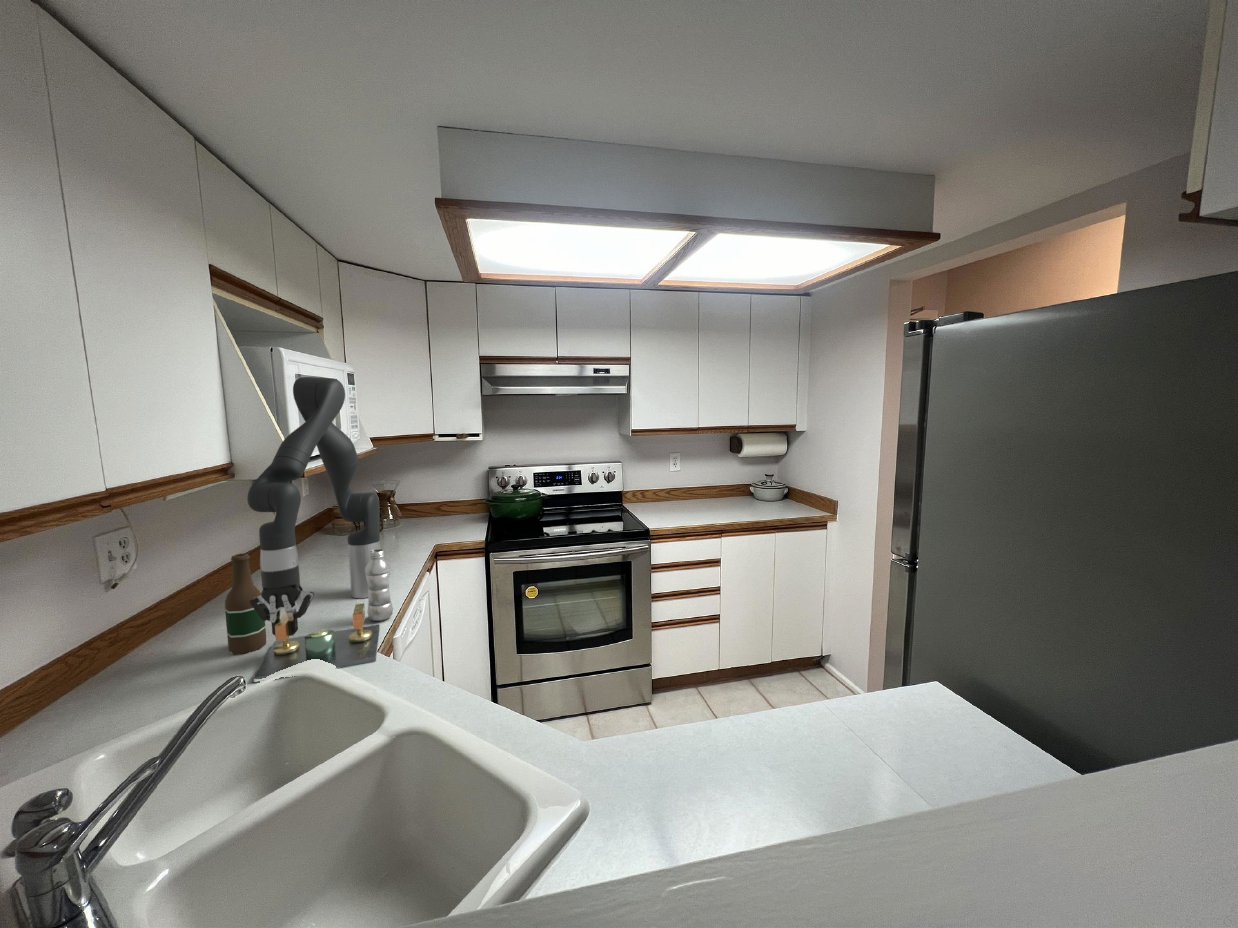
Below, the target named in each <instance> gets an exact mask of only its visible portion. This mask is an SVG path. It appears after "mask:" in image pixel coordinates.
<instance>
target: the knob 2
mask: <svg viewBox="0 0 1238 928" xmlns="http://www.w3.org/2000/svg"><path fill="white" fill-rule="evenodd" d="M365 618H366V609H365V603H364V602H363V603H357V604H355V605H354V610H353V613H352V626H353V628H354V629H357V631H355V632H353V633H351V634H350V635H349V641H350V642H362V641H365V640H368V639H370V638H371V637H372V631H371V630H363V627H364V623H365ZM353 628H352V629H353Z"/></svg>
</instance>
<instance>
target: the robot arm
mask: <svg viewBox="0 0 1238 928" xmlns="http://www.w3.org/2000/svg"><path fill="white" fill-rule="evenodd" d="M292 395H293V399H294V402H295V405H296V407H297V409H298V411H299V413H300V414H301V417H302V419H303V420H304V422H303V423H302V424H301V425H299V426H298V427H297V428H296V429H294V430H293V431H292V432H291V433H289V434H288V435H287V436H286V437H285V438H284V439H283V441H282V442H281V444H280V445H279V446H278V449H277V451H276V453H275V455H274V458H273V459H272V462H271V463H270V465H268V466H267V468H265V469H264V470H263V472H262V473H261V474H260V475H259V476H258V477H257V478H256V480H255V481H253V483H252V484H251V486H250V488H249V490H248V493H247V499H246V500H247V505H248V507H249V508H250V509H252V511H254V512H258V513H275V517H274V519H273V521H268V522H266V523H263V524H262V525H260V527H259V530H258V533H259V534H258V536H259V537H258V538H259V547H260V555H259V568H260V576H261V586H262V591H261V592H260V593H261V595H259V596H256V597H254V598H253V599H252V600H250V604H251V605H252V607H253V608H254V609H255V611H256V612H257V614H258V615H259V616H260V618H261V619H262V620H263V621H265V622H266V621H268V622H270V623H271V631H272V635H273V636H274V637H275V638H276V635H275V625H276V624H277V623H278V622H279V620H280V619H281V612H282V611H281V610H282V608H283V609H284V612H285V614H287V616H288V620H289V621H288V628H289V637H291V636H292V637H293V636H294V635H295V634H296V633H297V632H298V630H299V624H298V623H299V621H298V619H301V618H302V617H303V616H304V615H305V614H306V612H307V610H308V608H310V607H309V606H310V605H311V602H312V601H313V598H314V596H315V592H314V591H310V592H307V591H305V590H303V587H302V586H301V584H300V583H301V577H300V565H299V551H298V550H297V549H298V548H297V544H296V543H297V540H296V531H295V529H296V525H297V519H298V515H299V509H300V506H301V501H302V495H301V493H300V489H299V488H298V487H297V486H296V485H295V484H294V483H292V482H293V481H296V480H298V479H300V478H302V476H303V475H304V473H305V472H306V471H305V470H306V469H307V467H308V464H309V461H310V460H311V457H312V455H313V452H314V450H315V448H316V447H317V450H318V453H319V456H320V457H319V458H320V460H321V461H322V463H323V467H324V469H325V471H326V474H327V476H328V478H329V480H330V482H331V483H330V484H331V485H332V489H333V492H334V495H335V499H336V503H337V508H338V510H339V511H338V512H339V513H340V516H341V518H342V519H343V520H344V521H345V522H348V523H360V522H361V523H362V522H363V523H364V522H365V524H364V527H362V528H361V529H359V530H356V531H354V532H351V533H350V534H348V536H347V548H348V549H347V550H348V564H349V566H348V567H349V579H350V594H351V597H352V598H355V599H366V598H369V591H368V583H367V579H366V574H365V567H366V566H367V564H368V562H369V561H370V558H369V556H370V553H369V552H370V551H371V550H375V549H381V539H380V537H381V536H380V532H381V529H380V527H381V526H380V525H381V524H380V519H381V518H380V515H381V514H380V513H381V511H380V509H381V508H380V499H379V495H377V494H376V493H375V492H352V490H351V488H350V484H351V481H352V480H353V478H354V476H355V474H356V473H357V470H358V467H359V464H360V460H359V457H358V454H357V450H356V448H355V444H354V443H353V441H352V439H350V437H349V436H348V435H347V434H346V433H344V431H342V429H340V428H339V427H337V425H335V424H334V423H333V422H334V420H335V419H336V417H337V416H338V414H339V413H340V411H341V410H342V408H343V406H344V403H345V399H346V391H345V387H344V384H343V383H342V382H341V381H340V380H338V379H335V378H330V377H316V376H302V377H299V378H297V379H296V380H294V383H293V385H292ZM299 598H300V601H301V604H300V606H299V609H297V608H298V605H297V600H298V599H299ZM265 601H266V603H267V604H268V605H269V608H268V606H267V605H266V604H265Z"/></svg>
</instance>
